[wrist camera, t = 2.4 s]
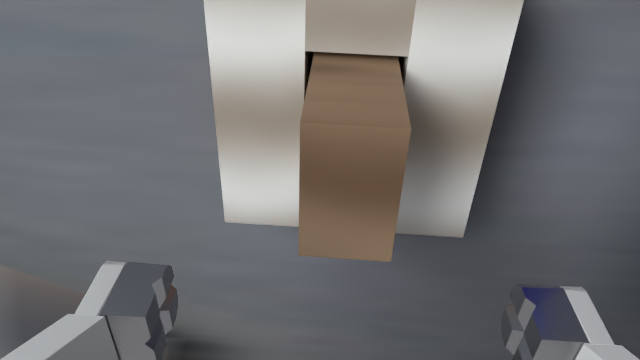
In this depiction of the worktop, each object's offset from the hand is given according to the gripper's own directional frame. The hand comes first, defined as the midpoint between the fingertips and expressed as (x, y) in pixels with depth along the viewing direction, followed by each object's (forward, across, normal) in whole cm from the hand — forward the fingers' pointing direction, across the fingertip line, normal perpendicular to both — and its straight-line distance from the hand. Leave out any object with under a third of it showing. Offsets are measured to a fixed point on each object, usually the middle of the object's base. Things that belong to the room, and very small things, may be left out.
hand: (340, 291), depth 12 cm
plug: (+13, 0, +1) cm, 13 cm away
